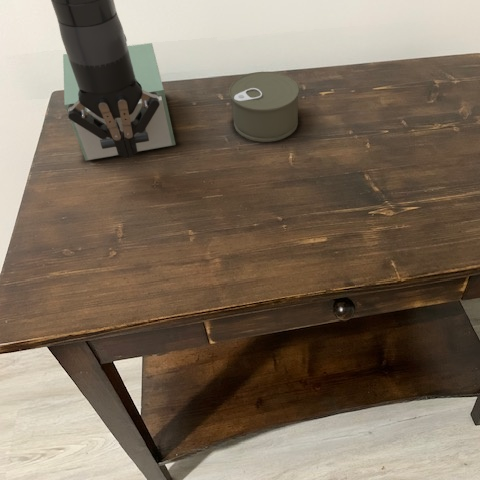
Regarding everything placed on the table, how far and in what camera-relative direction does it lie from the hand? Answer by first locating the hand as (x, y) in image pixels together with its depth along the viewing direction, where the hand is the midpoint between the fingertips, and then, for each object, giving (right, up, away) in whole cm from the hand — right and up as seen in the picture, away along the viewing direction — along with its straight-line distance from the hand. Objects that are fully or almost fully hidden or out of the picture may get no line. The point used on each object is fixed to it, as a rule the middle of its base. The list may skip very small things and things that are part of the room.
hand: (129, 155), depth 82 cm
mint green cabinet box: (-5, +7, +13) cm, 16 cm away
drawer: (-4, +5, +10) cm, 12 cm away
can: (+20, +8, +15) cm, 26 cm away
